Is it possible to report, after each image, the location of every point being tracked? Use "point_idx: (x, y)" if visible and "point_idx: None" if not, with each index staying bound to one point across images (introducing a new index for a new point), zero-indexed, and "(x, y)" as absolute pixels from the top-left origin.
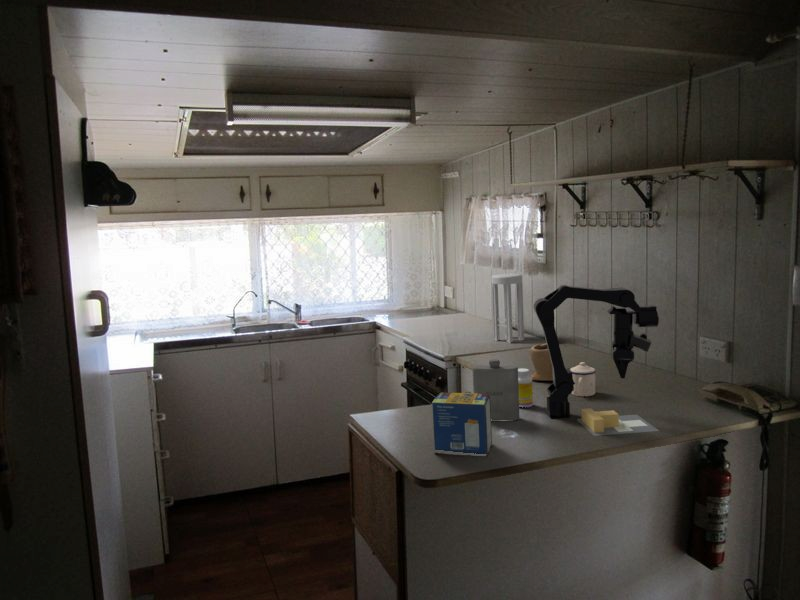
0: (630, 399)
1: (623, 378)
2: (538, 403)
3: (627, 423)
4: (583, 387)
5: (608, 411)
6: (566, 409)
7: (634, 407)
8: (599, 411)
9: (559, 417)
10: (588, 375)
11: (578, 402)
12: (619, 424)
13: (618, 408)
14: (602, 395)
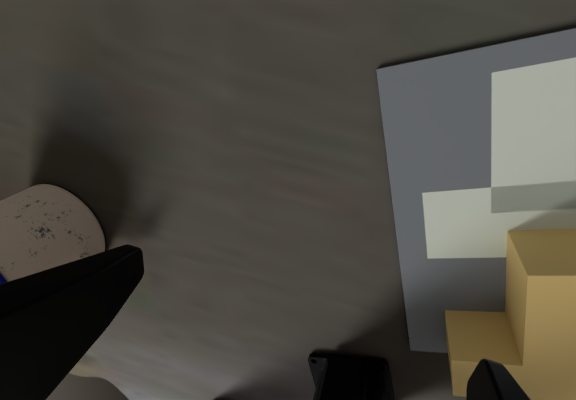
0: (90, 39)
1: (494, 368)
2: (209, 379)
3: (545, 166)
4: (74, 258)
5: (544, 307)
6: (365, 392)
7: (223, 47)
8: (526, 346)
9: (392, 395)
10: (9, 274)
11: (179, 272)
12: (551, 212)
13: (246, 139)
14: (68, 160)
